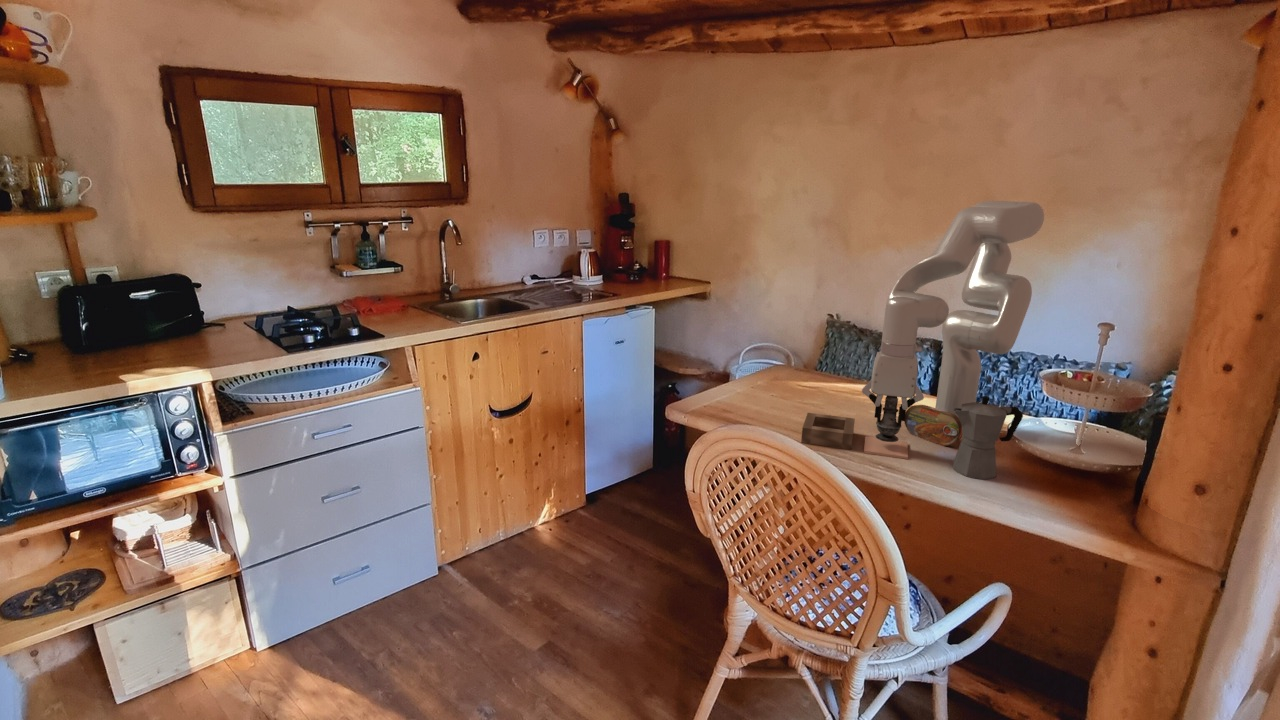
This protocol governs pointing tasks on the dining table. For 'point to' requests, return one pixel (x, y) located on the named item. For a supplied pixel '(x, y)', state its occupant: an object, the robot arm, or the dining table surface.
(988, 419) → the coffeepot
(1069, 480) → the dining table surface
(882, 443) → the terracotta tile
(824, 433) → the socket block
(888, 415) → the salt shaker
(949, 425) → the tin
